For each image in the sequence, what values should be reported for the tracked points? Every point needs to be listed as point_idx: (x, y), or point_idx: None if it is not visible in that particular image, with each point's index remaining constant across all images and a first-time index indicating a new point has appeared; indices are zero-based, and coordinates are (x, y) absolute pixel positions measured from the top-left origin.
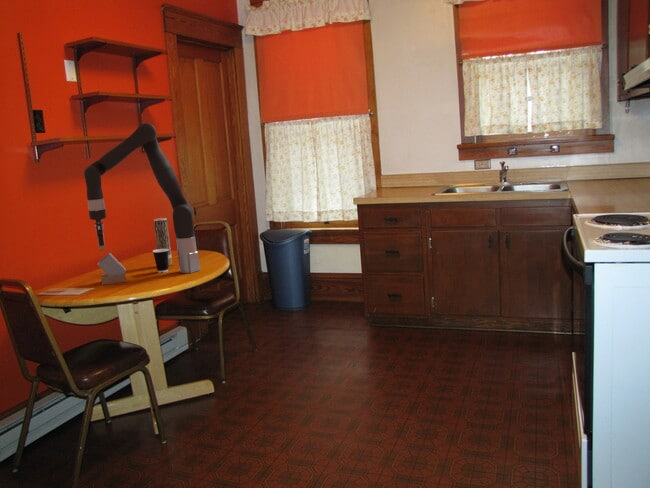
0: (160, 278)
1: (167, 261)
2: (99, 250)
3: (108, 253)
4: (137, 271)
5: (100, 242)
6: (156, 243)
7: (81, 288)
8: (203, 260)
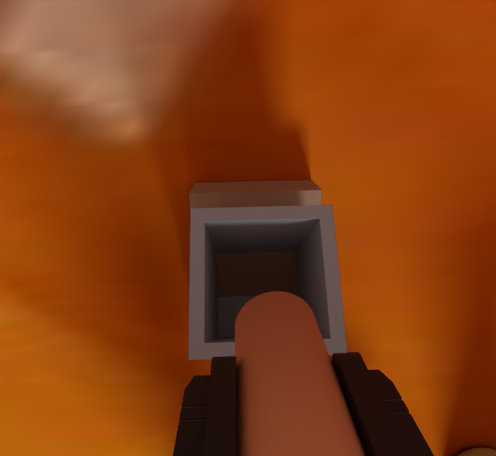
0: None
1: None
2: (255, 299)
3: (336, 339)
4: (444, 355)
5: (183, 418)
6: None
7: (171, 52)
8: None
